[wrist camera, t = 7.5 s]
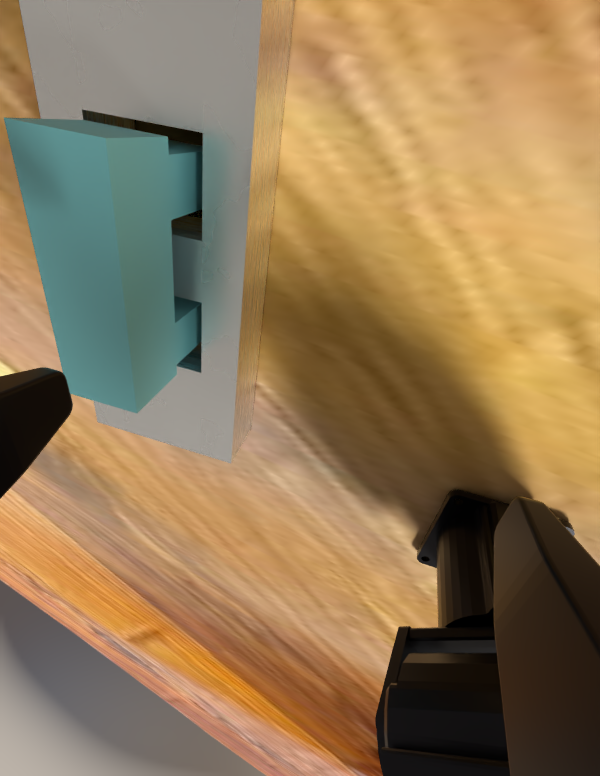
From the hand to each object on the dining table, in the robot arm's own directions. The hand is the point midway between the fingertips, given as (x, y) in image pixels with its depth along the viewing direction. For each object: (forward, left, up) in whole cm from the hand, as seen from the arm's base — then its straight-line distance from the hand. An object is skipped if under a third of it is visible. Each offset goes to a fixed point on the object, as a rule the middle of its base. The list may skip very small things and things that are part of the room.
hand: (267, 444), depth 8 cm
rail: (0, +8, -12) cm, 14 cm away
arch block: (0, +8, -12) cm, 14 cm away
